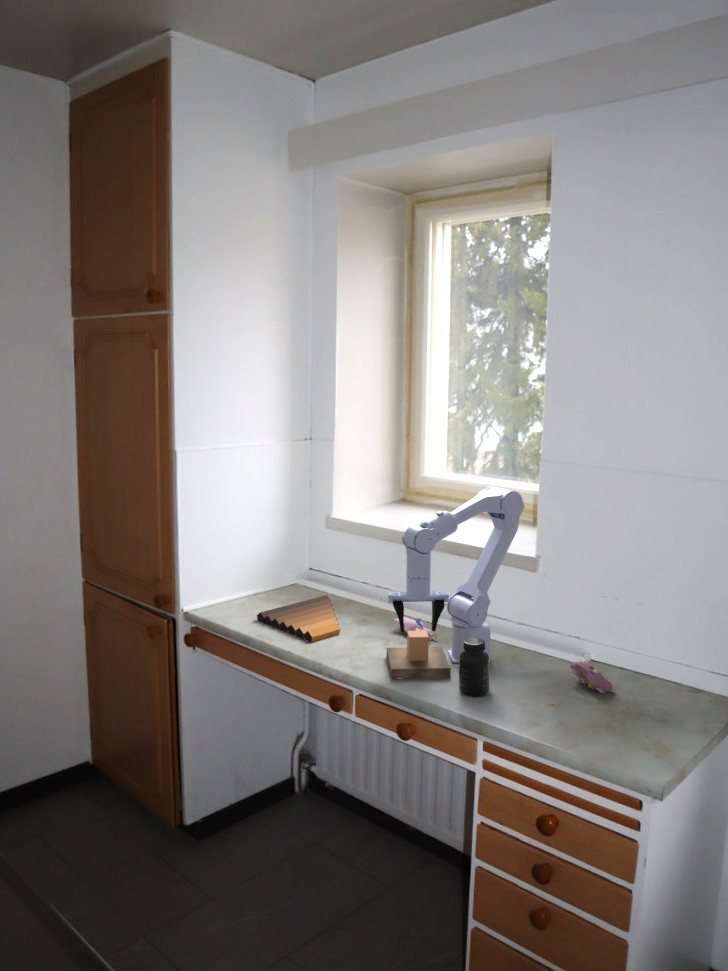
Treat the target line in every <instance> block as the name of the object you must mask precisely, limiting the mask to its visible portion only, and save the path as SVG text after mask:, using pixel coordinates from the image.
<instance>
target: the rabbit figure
mask: <svg viewBox="0 0 728 971" xmlns="http://www.w3.org/2000/svg"><path fill="white" fill-rule="evenodd" d="M403 620H404V632H406V634H407V631H426V632H427V634H428V637H429V641H428V644H430V643H432V640H433V639H434V638H435V641H437V640H438V635H436V633H434V632H433V631H432V630H431V629H430V628H426V627H425V624H424V623H423V622H422V621H421V620H422V618H421V617H417V618H416V620H414V619H410V618H409V617H406V616H404V619H403ZM393 621H395V622H397V623H398V624H399V625H400V623H399V619H398V617H397V618H393ZM420 628H422V629H420ZM434 636H435V637H434Z"/></svg>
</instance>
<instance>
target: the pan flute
mask: <svg viewBox="0 0 728 971" xmlns="http://www.w3.org/2000/svg"><path fill="white" fill-rule="evenodd" d="M256 618H257V621H258V622H260V623H262V624H265V625H267V626H270V627H272V628H274V629H277V630H280V631H281V632H284V633H288V634H289V635H291V634H292V636H294V635H295V636H296V637H297V638H299V639H301V638H302V639H301V640H305V641H306V640H308V641H307V642H309V641H310V642H309V643H313V641H314V642H317V641H319V640H320V639H321V640H323V638H324V639H327V638H329V637H333V635H334V636H337V635H339V634H340V632H341V627H340V625H339V624H340V623H339V621H338V618H337V616H336V612H335V608H334V607H333V603H332V599H331V598H330V597H329V595H328V594H326V595H321V596H318V597H315V598H309V599H306V600H303V601H300V602H299V601H298V602H295V603H292V604H291V603H290V604H287V605H283V606H280V607H276V608H272V609H268V610H264V611H260V612H259V613H258V614H257V615H256ZM336 634H337V635H336Z"/></svg>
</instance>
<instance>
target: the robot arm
mask: <svg viewBox="0 0 728 971" xmlns="http://www.w3.org/2000/svg"><path fill="white" fill-rule="evenodd" d="M525 508H526V507H525V503H524V500H523V497H522V494H520V492H518V491H516V490H509V489H505V488H501V487H497V486H495V485H490V486H487V487H486V488H485V489H482V490H480V491H479V492H478V494H477V495H475V496H474V497H473V498H470V500H467V501H466V502H465V503H463V504H462V505H460V506H458V507H457V508H455V509H454V510H453V511H451V512H449V511H448V510H443V511H442V510H439V511H437V512H436V515H434V516H432V517H431V518H429V519H427V520H423V521H421V522H420V524H419V525H416V524H415V525H411V526H409V527H408V528H406V530H405V531H404V534H403V536H402V537H401V541H402V545H403V546H404V547H405V551H406V552H405V554H406V590H405V591H397V592H396V591H395V592H388V593H387V603H388V604H392V606H393V609H394V611H395V613H396V615H397V618H398V619H399V623H400V624H399V623H398V624H399V630H400V632H401V633H405V630H404V620H403V619H404V617H405V615H404V614H405V607H404V606H405V605H404V603H409V602H410V603H413V602H415V603H416V602H423V603H424V602H431V613H432V614H431V632H437V631H436V629H437V626H438V623H439V619H440V616H441V614H442V613H443V611H444V609H445V606H446V612H447V613H448V614H449V615H450V620H451V621H452V622H451V623H452V624H451V649H448V650H447V653H448V654H449V658H450V659H451V662H452V663H455V664H456V663H458V664H459V655H460V653H461V652H462V651H464V649H463V646H464V640H465V639H467V638H480V639H483V640H484V641H485V651H486V652H487V653H488V655H489V658H490V659H491V628H490V624H489V623H488V622H486V619H487V617H488V610H489V606H490V604H491V600H490V597H489V594H488V592H489V590H490V588H491V585H492V584H493V581H494V579H495V576H496V575H497V573H498V571H499V569H500V567H501V565H502V563H503V561H504V558H505V557H506V555H507V553H508V550H509V549H510V546H511V544H512V542H513V541H514V539H515V536H516V534H517V532H518V529H519V524H520V519H521V518H520V517H521V515H522V513H523V511H524V509H525ZM483 513H487V515H488V516H489V518H490V519H491V521H492V523H493V530H492V531H491V533H490V535H489V538H487V542H486V543H485V545H484V547H483V549H482V552H481V554H480V556H479V558H478V560H477V562H476V564H475V566H474V568H473V570H472V572H471V574H470V576H469V578H468V579H467V582H465V583H463V584H461V585H459V586H458V587H457V589H456V590H455V592H454V593H453V594H452V595H451V596H450V595H449V594H450V593H449V592H448V591H446V592H445V591H434V590H433V591H432V590H431V562H432V561H431V560H432V554H431V553H432V552H433V550H434V548H435V547H436V544H437V543H438V542H440V541H441V540H444V539H445V538H447V537H449V536H451V535H452V534H454V533H455V532H457V530H458V527H459V525H460V524H462V523H464V522H466V521H469V520H470V519H472V518H474V517H477V516H478V515H480V514H483ZM445 603H446V604H445Z"/></svg>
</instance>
